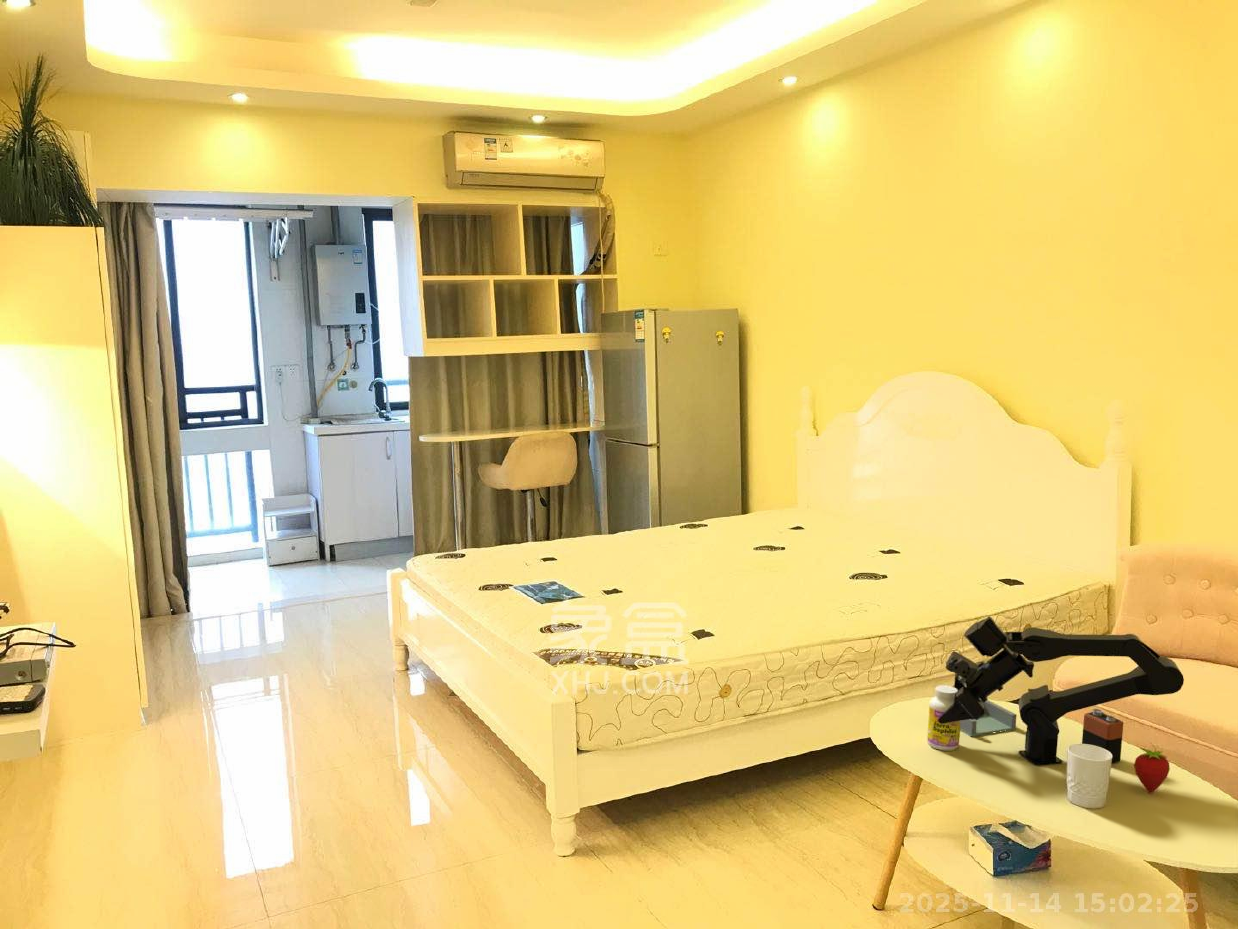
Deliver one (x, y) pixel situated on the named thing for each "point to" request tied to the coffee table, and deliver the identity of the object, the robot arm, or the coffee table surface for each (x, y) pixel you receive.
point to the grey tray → (990, 721)
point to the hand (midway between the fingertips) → (939, 714)
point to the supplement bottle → (943, 733)
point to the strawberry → (1151, 769)
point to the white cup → (1088, 775)
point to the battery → (1103, 732)
